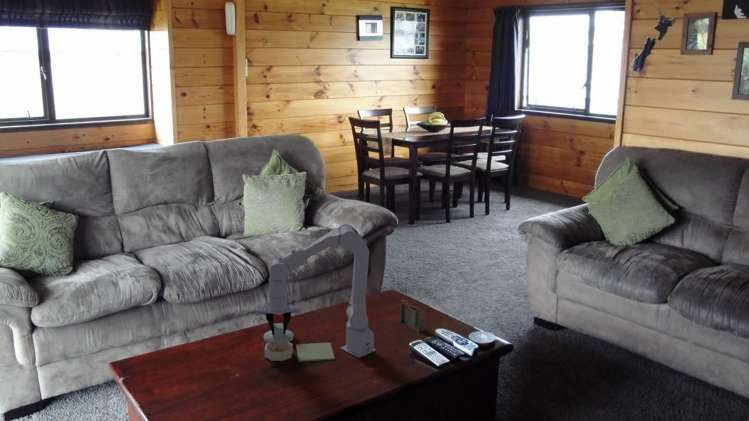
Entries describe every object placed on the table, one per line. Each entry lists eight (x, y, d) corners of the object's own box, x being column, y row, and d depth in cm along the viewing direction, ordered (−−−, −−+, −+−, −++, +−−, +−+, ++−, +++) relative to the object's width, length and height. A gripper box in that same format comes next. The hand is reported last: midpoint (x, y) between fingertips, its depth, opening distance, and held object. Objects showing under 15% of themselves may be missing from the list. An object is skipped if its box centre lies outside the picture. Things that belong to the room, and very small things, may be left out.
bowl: (297, 354, 229) (297, 346, 228) (276, 363, 222) (276, 355, 222) (281, 346, 235) (281, 338, 234) (259, 354, 228) (259, 346, 228)
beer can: (290, 329, 249) (290, 298, 246) (286, 336, 242) (285, 305, 239) (272, 328, 249) (272, 297, 246) (268, 335, 243) (267, 304, 240)
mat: (330, 343, 238) (330, 342, 237) (334, 359, 226) (334, 358, 226) (296, 345, 235) (296, 344, 235) (298, 361, 224) (298, 360, 224)
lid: (292, 330, 233) (292, 318, 232) (294, 343, 223) (294, 331, 222) (263, 332, 231) (263, 320, 230) (264, 345, 221) (263, 332, 220)
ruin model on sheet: (399, 322, 258) (400, 298, 255) (405, 321, 259) (406, 297, 257) (417, 333, 248) (418, 309, 246) (424, 331, 250) (425, 307, 248)
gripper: (255, 301, 218) (256, 340, 222) (301, 299, 221) (301, 337, 224) (255, 293, 225) (256, 331, 228) (299, 291, 227) (299, 328, 231)
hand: (278, 333), depth 227 cm, fingers closed on lid, 3 cm apart
